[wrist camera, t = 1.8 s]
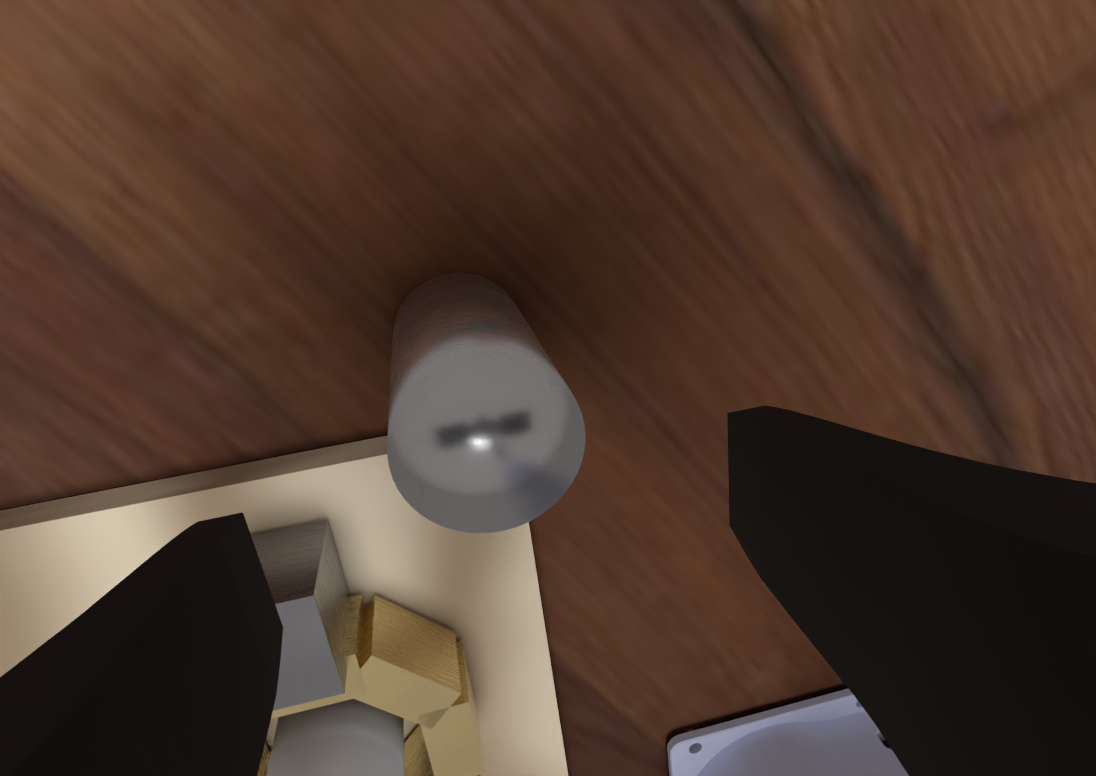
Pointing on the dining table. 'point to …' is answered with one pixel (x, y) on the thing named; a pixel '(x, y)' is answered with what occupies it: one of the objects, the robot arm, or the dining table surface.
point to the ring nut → (367, 655)
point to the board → (369, 569)
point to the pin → (477, 409)
